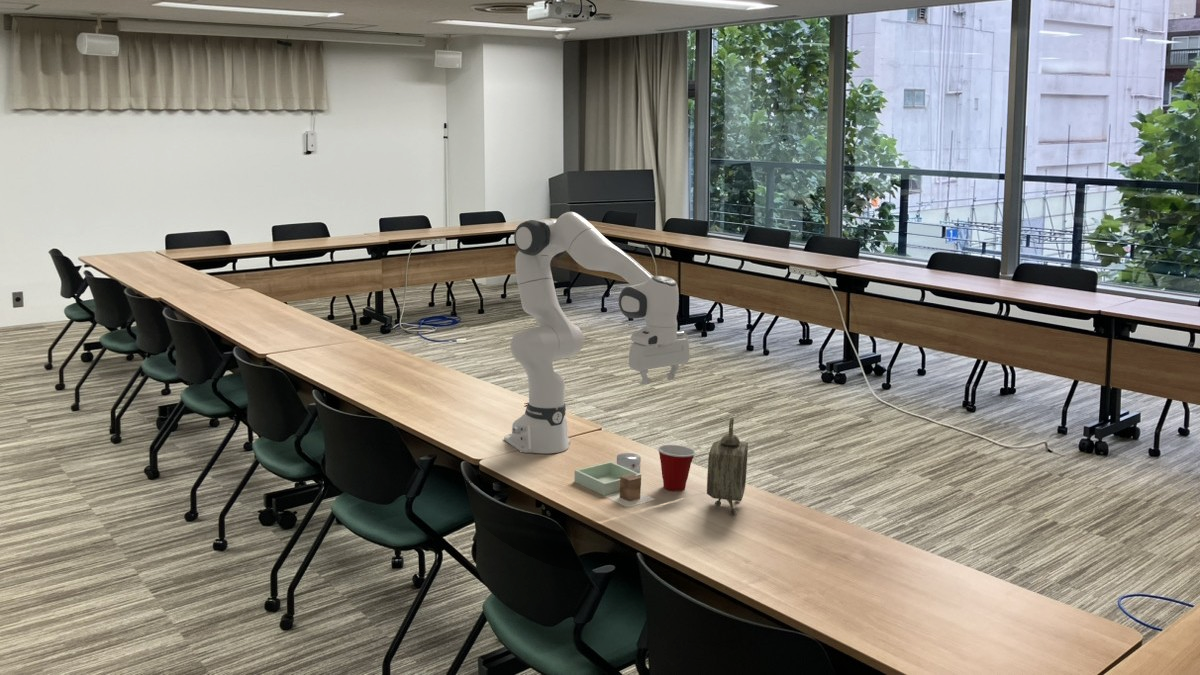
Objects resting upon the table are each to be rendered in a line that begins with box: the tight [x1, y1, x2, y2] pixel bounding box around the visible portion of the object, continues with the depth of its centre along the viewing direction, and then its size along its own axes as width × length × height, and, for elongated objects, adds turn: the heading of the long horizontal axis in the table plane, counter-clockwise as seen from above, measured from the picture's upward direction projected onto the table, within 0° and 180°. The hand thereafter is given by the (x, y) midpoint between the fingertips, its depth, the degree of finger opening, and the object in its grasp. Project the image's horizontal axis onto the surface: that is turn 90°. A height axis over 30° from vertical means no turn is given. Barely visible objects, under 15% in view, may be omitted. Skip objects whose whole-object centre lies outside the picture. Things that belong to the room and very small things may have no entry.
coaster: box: [603, 492, 656, 508], centre depth 280 cm, size 10×10×1 cm
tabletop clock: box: [706, 417, 749, 516], centre depth 275 cm, size 14×9×25 cm, turn 166°
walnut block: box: [620, 474, 642, 501], centre depth 280 cm, size 4×4×6 cm
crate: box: [573, 461, 642, 496], centre depth 290 cm, size 13×13×4 cm
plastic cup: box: [657, 444, 697, 492], centre depth 288 cm, size 11×11×12 cm
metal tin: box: [616, 452, 642, 474], centre depth 301 cm, size 7×7×5 cm
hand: (658, 381), depth 291 cm, fingers open, 8 cm apart
